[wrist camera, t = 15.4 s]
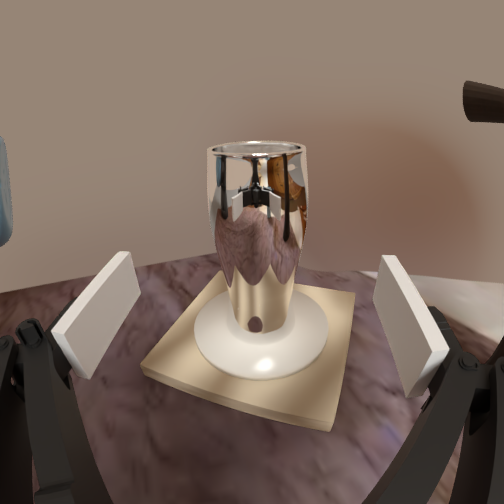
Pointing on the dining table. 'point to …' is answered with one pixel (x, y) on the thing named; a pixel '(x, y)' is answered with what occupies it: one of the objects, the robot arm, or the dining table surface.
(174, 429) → the dining table surface
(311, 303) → the saucer
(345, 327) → the birch board
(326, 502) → the dining table surface
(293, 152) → the beer glass
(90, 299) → the robot arm
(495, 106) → the flared trumpet-armed statue
